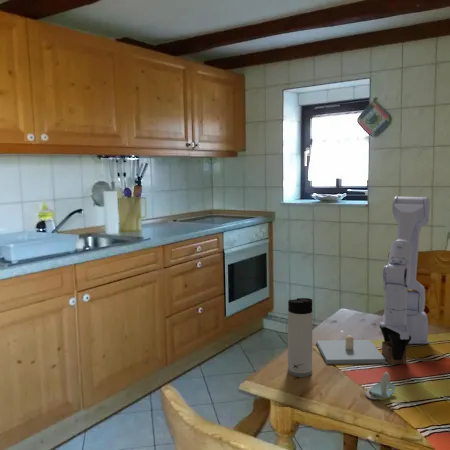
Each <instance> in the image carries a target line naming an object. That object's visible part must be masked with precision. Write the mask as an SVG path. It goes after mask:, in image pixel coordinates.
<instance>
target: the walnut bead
mask: <svg viewBox="0 0 450 450" xmlns="http://www.w3.org/2000/svg"><path fill="white" fill-rule="evenodd" d="M381 354H382V355H383V356H384V358H385V359H386V364H387V365H405V364H407V359H408V358H407V356H408V348H407V347H406V349H405V352H404V355H403V358H402V360H394V358H393V353H392V345H391V341H384V340H383V341H382V342H381Z"/></svg>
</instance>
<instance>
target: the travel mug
mask: <svg viewBox="0 0 450 450" xmlns="http://www.w3.org/2000/svg"><path fill="white" fill-rule="evenodd" d="M287 303H288V304H287V305H288V306H287V307H288V308H287V309H288V310H287V372H288V374H290V375H291V376H293V377H297V378H306V377H309V376H311V375H312V373H313V315H314V314H313V311H314V310H313V299H312V298H308V297H306V298H305V297H297V298H295V299H289V300H288V302H287Z"/></svg>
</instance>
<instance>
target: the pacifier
mask: <svg viewBox="0 0 450 450" xmlns="http://www.w3.org/2000/svg"><path fill="white" fill-rule="evenodd" d="M390 378H391V376H390V374H389V372H388V371H385V372H384V373H383V375H382V378H381V380H380V382H378V383H376V384H375V385H373V386H372V387H369V388H368V389H366V391H365V396H366V397H367V398H369V399H370V400H380V401H385V400H387V399H390V398H391V396H392V395H394V394H395V391H396V386H395V384H393V383H392V382H390ZM372 394H373V395H372Z"/></svg>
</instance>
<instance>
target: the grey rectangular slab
mask: <svg viewBox="0 0 450 450" xmlns="http://www.w3.org/2000/svg"><path fill="white" fill-rule="evenodd" d="M316 346H317V348H318V350H319V351H320V354H321V355H322V358H323V359H324V361H325V363H326V365H337V364H338V365H341V364H342V365H343V364H344V365H348V364H349V365H350V364H357V365H358V364H387V362H386V359H385V358H384V356H383V355H382V352H380V350H379V349H378V348H377V347H376V346H375V344H374V343H373V342H372V340H371V339H354V337H353V336H352V335H350V334H349V335H346V336H345V339H342V340H341V339H340V340H339V339H338V340H337V339H334V340H329V339H328V340H316Z"/></svg>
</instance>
